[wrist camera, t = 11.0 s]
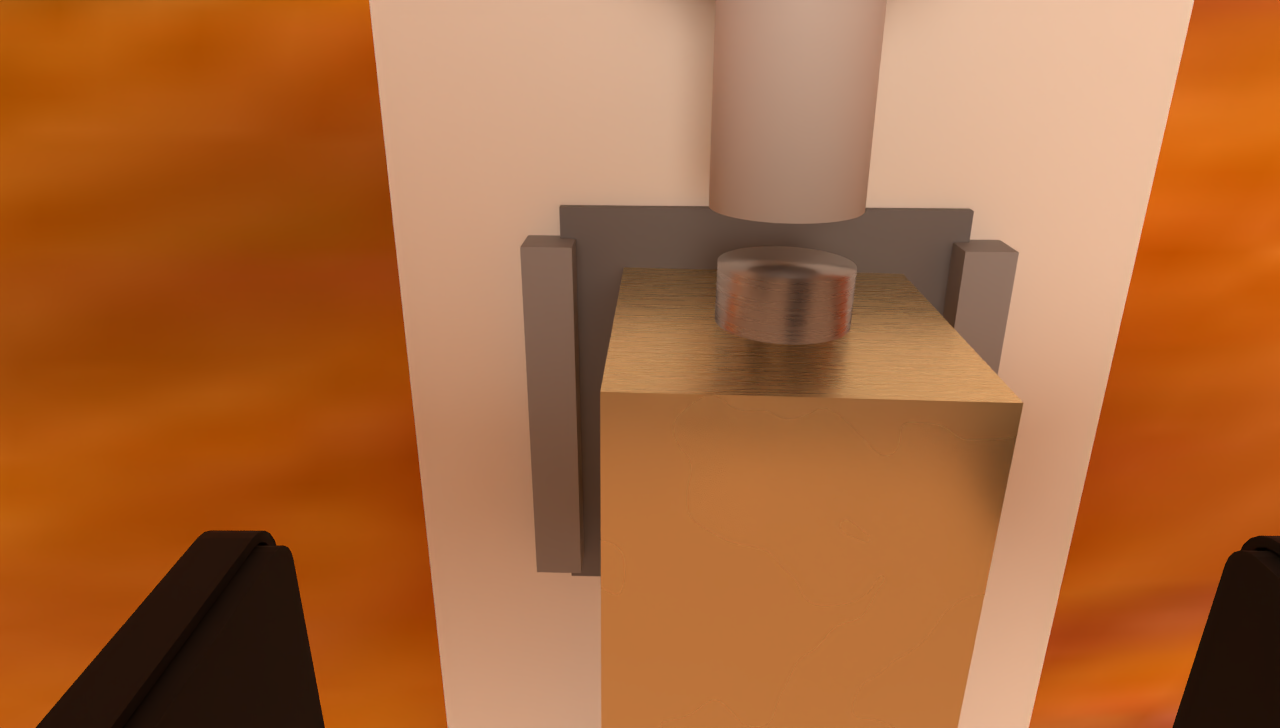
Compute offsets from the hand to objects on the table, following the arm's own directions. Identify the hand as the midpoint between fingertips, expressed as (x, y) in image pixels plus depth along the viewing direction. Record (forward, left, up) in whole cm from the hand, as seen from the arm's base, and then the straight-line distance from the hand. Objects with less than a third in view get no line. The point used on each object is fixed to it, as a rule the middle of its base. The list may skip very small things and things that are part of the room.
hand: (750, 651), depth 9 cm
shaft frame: (0, +1, -8) cm, 8 cm away
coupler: (0, +1, -6) cm, 6 cm away
